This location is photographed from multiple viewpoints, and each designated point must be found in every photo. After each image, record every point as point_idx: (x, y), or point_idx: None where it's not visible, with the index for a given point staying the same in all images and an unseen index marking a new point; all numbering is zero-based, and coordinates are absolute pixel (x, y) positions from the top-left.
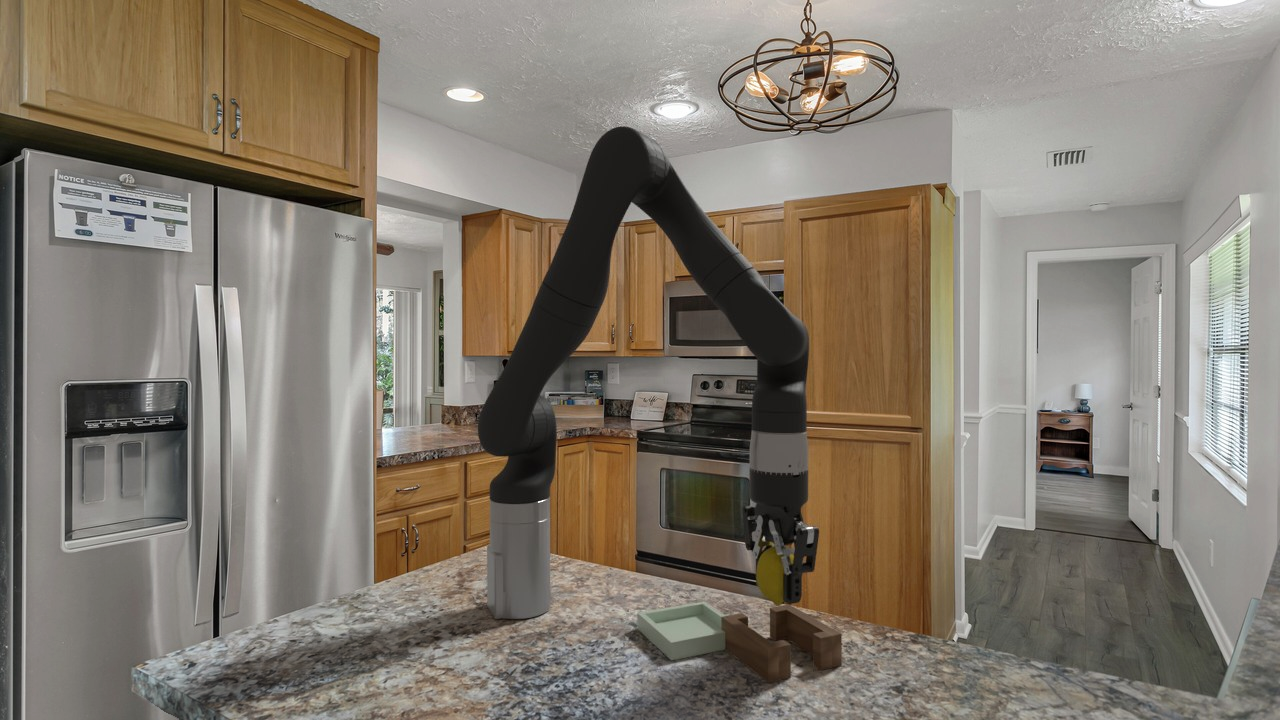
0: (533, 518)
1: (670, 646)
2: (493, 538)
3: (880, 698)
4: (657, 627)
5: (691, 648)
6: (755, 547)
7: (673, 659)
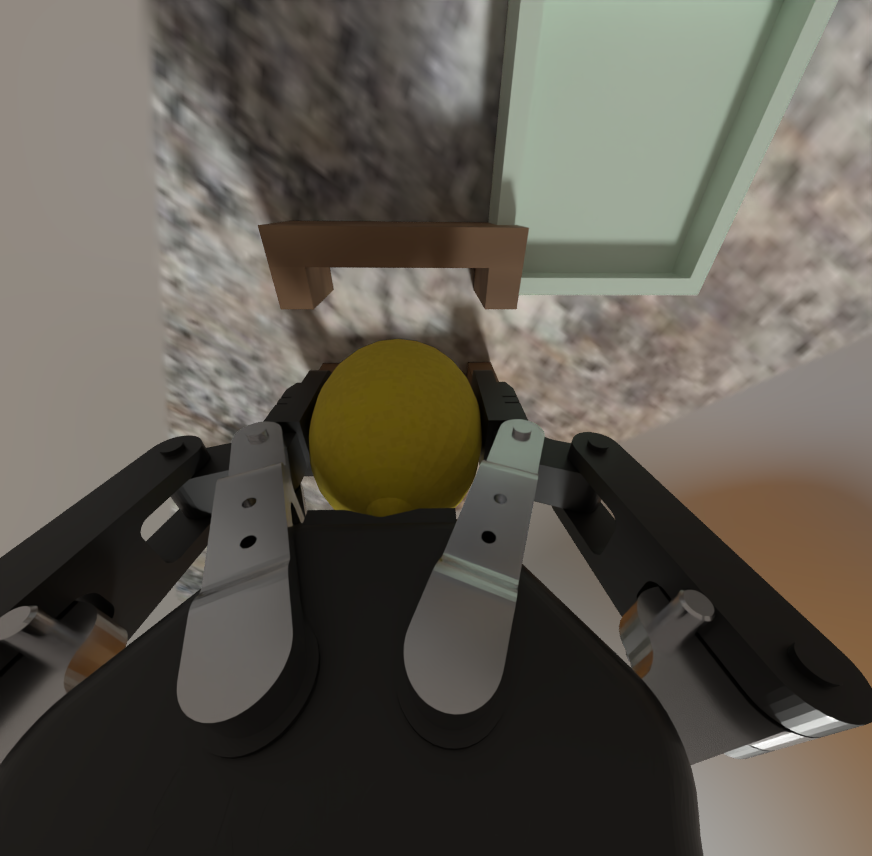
0: None
1: None
2: None
3: (205, 389)
4: None
5: (506, 68)
6: (527, 454)
7: None
